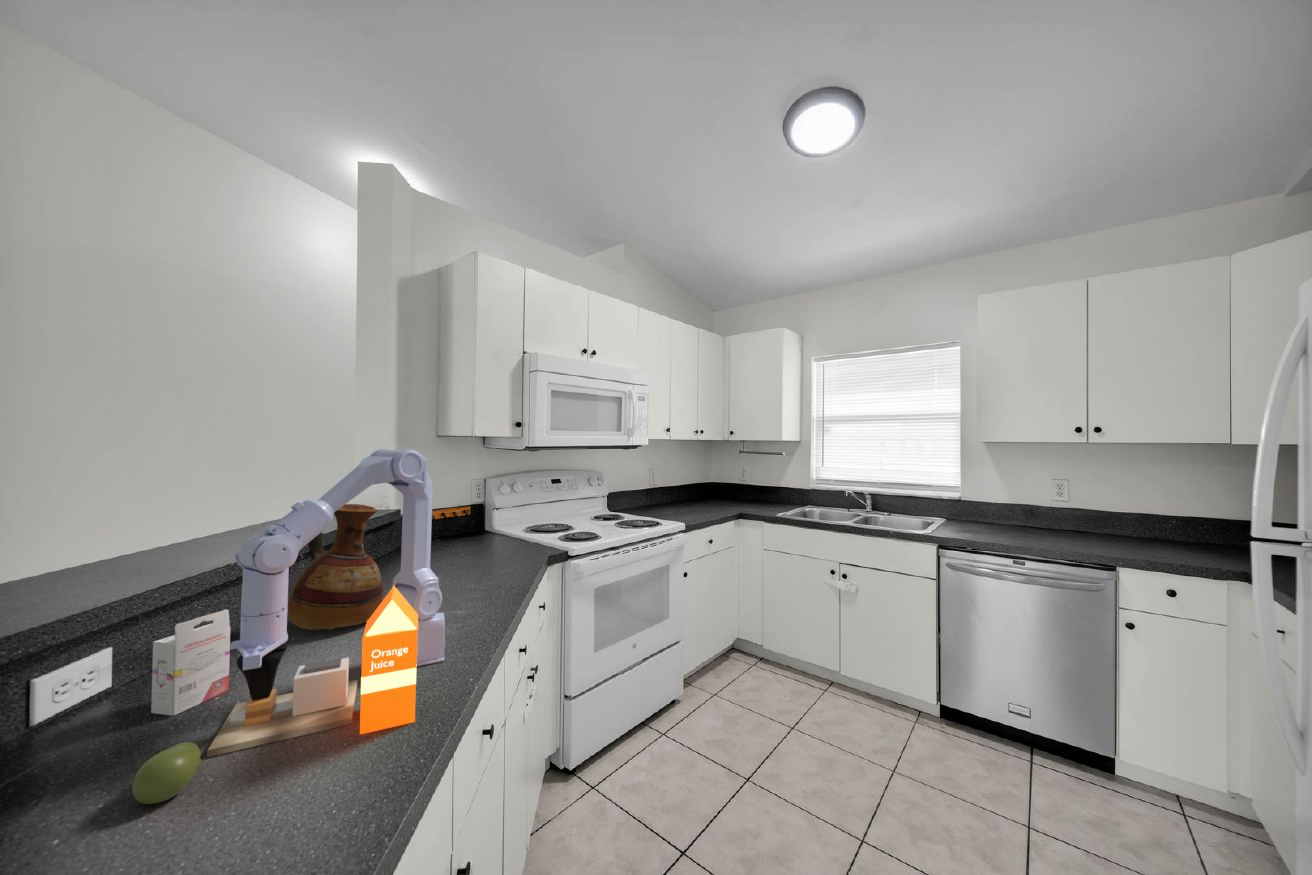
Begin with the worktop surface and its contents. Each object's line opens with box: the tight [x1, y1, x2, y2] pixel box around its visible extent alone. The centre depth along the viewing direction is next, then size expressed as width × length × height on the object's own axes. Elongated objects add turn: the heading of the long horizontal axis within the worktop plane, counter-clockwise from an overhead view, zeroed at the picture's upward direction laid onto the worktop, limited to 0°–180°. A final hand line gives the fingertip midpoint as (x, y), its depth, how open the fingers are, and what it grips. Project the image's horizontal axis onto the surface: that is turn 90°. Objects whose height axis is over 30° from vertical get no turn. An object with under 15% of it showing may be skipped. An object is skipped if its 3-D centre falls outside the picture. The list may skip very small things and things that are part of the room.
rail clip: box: [245, 688, 278, 726], centre depth 74 cm, size 3×4×3 cm, turn 29°
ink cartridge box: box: [150, 609, 231, 717], centre depth 80 cm, size 9×5×15 cm, turn 168°
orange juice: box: [359, 584, 418, 735], centre depth 77 cm, size 8×9×20 cm
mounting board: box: [206, 679, 358, 758], centre depth 76 cm, size 17×14×1 cm
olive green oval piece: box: [131, 741, 202, 805], centre depth 60 cm, size 6×5×10 cm
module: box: [292, 657, 350, 716], centre depth 78 cm, size 7×5×6 cm
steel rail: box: [229, 689, 349, 728], centre depth 76 cm, size 15×3×1 cm, turn 119°
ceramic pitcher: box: [287, 503, 384, 631], centre depth 117 cm, size 20×20×30 cm
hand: (261, 697), depth 74 cm, fingers closed, pressing on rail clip
